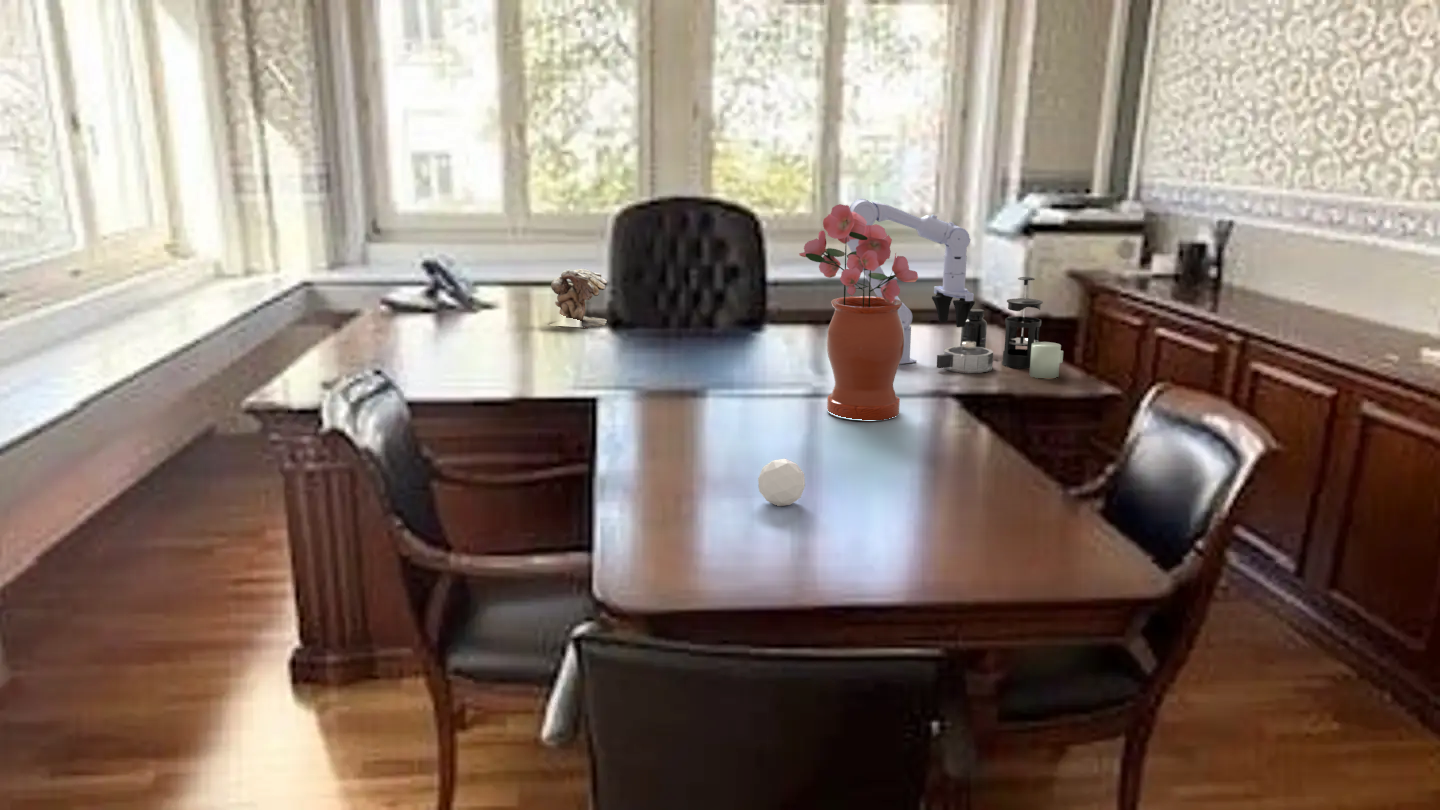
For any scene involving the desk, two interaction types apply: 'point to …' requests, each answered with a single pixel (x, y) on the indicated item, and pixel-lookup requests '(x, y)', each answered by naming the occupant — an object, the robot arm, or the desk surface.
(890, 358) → the potted flower
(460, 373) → the desk surface
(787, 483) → the geometric ball
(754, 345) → the desk surface
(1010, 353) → the french press
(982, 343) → the supplement bottle
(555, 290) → the cherub figurine
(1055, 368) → the sage mug
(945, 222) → the robot arm
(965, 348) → the plunger
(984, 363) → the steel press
